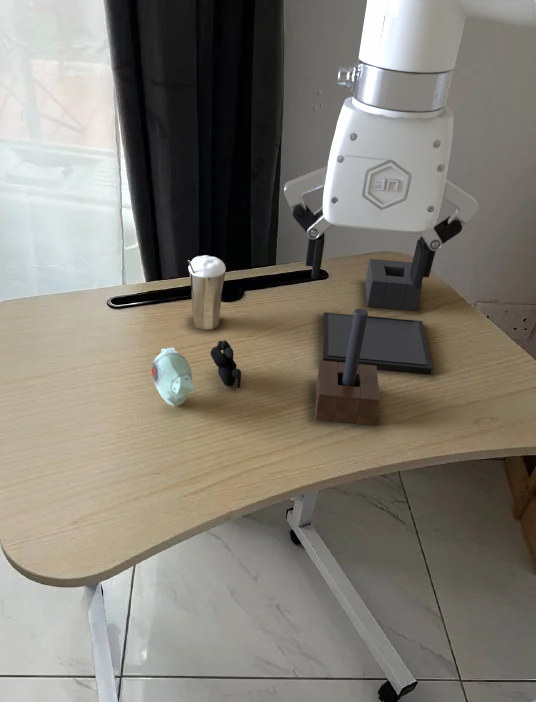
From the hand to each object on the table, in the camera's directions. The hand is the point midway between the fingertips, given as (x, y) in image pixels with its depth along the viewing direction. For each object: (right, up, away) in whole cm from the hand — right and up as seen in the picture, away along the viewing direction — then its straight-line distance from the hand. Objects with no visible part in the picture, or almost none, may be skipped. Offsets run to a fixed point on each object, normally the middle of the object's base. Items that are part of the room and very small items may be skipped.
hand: (364, 277), depth 64 cm
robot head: (-20, -13, +9) cm, 25 cm away
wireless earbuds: (-14, -10, +12) cm, 21 cm away
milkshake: (-17, -2, +22) cm, 28 cm away
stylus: (0, -12, +10) cm, 16 cm away
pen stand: (0, -12, +10) cm, 16 cm away
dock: (+9, +3, +30) cm, 31 cm away
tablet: (+5, -5, +20) cm, 21 cm away
